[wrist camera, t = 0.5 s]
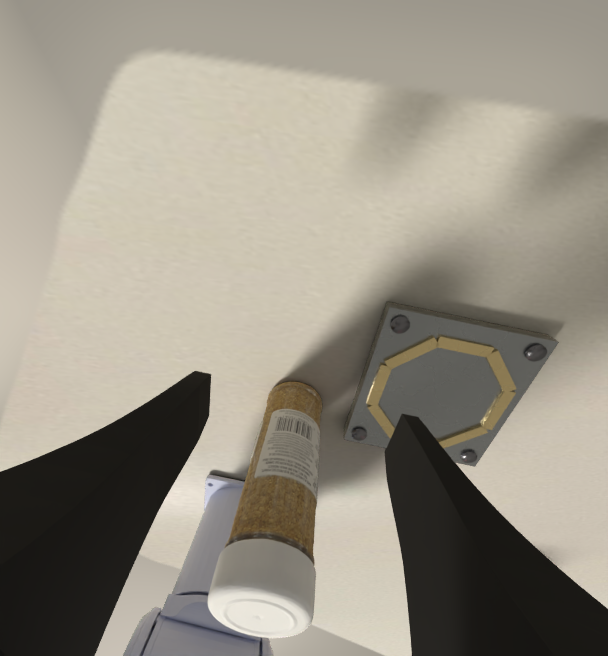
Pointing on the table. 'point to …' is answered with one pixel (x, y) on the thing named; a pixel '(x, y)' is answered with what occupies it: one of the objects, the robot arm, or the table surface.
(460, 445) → the octagon fixture plate
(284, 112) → the table surface
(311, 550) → the sprinkles bottle
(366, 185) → the table surface
